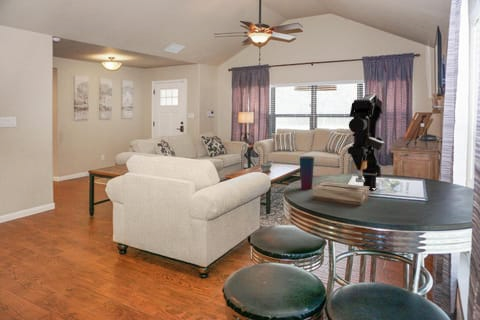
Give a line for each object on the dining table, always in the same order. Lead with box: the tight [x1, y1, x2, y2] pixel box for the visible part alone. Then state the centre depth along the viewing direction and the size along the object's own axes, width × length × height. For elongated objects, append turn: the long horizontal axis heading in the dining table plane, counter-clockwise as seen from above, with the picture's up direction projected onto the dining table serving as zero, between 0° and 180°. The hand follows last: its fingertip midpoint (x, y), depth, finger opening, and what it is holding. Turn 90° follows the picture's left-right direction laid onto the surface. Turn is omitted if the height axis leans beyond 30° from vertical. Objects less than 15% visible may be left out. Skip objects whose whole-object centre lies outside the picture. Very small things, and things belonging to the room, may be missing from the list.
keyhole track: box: [312, 181, 370, 206], centre depth 152 cm, size 13×20×5 cm, turn 57°
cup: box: [299, 155, 315, 191], centre depth 171 cm, size 7×7×15 cm
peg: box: [353, 160, 367, 183], centre depth 147 cm, size 4×4×8 cm
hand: (360, 169), depth 147 cm, fingers closed on peg, 4 cm apart
